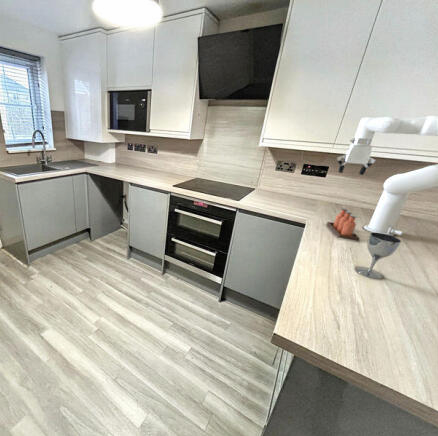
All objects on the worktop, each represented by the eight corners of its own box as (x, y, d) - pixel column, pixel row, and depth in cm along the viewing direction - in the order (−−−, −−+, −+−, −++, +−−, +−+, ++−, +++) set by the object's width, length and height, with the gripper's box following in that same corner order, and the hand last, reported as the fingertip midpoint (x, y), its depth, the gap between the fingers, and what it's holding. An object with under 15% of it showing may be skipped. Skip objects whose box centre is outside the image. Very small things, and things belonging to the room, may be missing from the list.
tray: (326, 225, 134) (327, 221, 134) (343, 227, 132) (344, 224, 131) (338, 238, 118) (339, 234, 117) (358, 241, 115) (359, 238, 114)
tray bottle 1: (344, 228, 128) (351, 210, 125) (339, 229, 127) (346, 210, 123) (335, 225, 132) (342, 207, 128) (330, 226, 130) (337, 208, 126)
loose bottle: (352, 237, 118) (361, 217, 114) (347, 238, 117) (356, 218, 113) (343, 233, 122) (350, 214, 118) (338, 234, 120) (345, 214, 116)
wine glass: (376, 281, 84) (394, 244, 78) (350, 269, 91) (365, 234, 85) (387, 276, 87) (405, 240, 81) (362, 265, 94) (377, 231, 88)
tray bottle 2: (348, 232, 123) (356, 213, 119) (343, 234, 122) (351, 214, 118) (339, 229, 127) (346, 210, 123) (334, 230, 125) (341, 211, 121)
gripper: (345, 141, 127) (334, 172, 133) (385, 143, 121) (372, 176, 128) (340, 140, 133) (330, 171, 140) (378, 142, 128) (366, 174, 134)
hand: (350, 173), depth 134 cm, fingers open, 9 cm apart
